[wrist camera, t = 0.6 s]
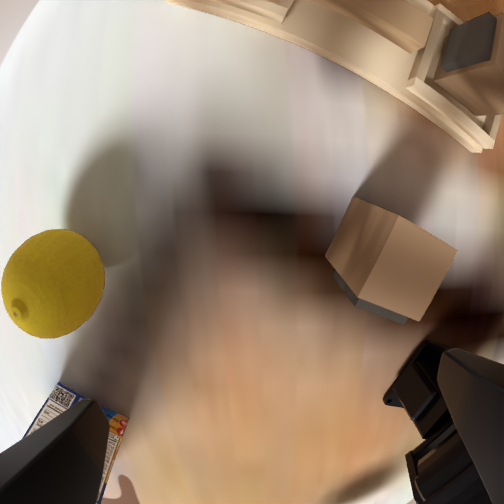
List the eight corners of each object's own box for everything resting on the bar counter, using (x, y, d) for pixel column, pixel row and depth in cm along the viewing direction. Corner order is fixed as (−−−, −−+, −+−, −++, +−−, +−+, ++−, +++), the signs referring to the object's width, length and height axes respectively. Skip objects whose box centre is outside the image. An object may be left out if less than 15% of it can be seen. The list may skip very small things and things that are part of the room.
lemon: (54, 209, 18) (-28, 242, 10) (128, 227, 18) (62, 274, 11) (50, 285, 19) (-16, 342, 11) (118, 307, 20) (67, 381, 12)
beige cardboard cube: (352, 196, 18) (398, 215, 12) (403, 223, 19) (457, 250, 13) (320, 264, 19) (351, 308, 14) (371, 285, 20) (413, 331, 14)
